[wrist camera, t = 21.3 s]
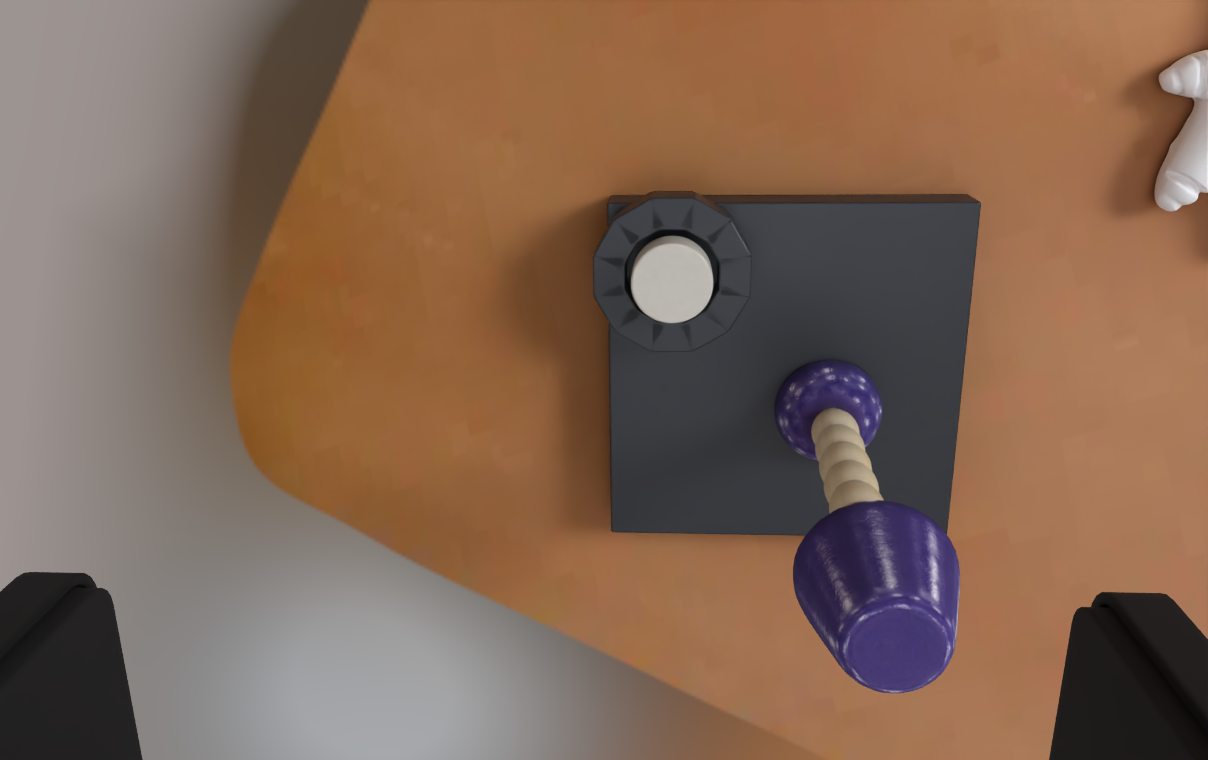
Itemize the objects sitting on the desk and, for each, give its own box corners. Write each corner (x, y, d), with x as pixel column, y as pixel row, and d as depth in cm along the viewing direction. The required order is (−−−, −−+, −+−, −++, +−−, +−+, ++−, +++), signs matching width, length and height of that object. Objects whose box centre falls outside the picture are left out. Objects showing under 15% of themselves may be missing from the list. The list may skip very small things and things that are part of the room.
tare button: (632, 312, 40) (630, 323, 39) (632, 235, 39) (630, 243, 38) (711, 313, 40) (712, 324, 39) (712, 235, 39) (714, 243, 38)
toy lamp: (836, 485, 43) (927, 753, 28) (738, 434, 43) (774, 675, 27) (901, 389, 42) (1037, 614, 26) (800, 334, 41) (876, 530, 26)
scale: (603, 513, 46) (597, 550, 43) (598, 183, 42) (591, 197, 38) (936, 518, 46) (956, 557, 42) (969, 182, 41) (995, 196, 38)
